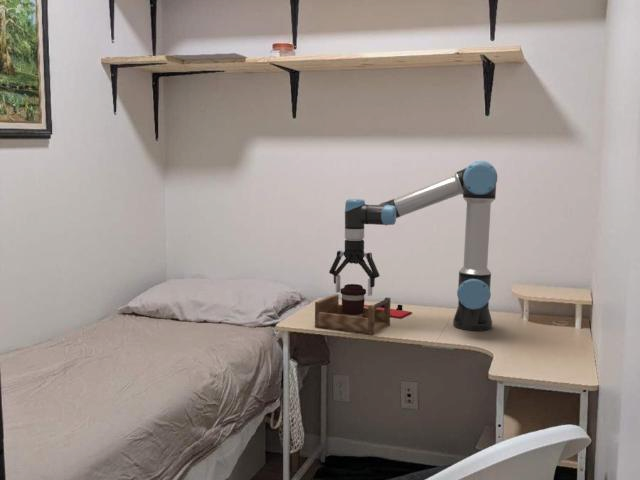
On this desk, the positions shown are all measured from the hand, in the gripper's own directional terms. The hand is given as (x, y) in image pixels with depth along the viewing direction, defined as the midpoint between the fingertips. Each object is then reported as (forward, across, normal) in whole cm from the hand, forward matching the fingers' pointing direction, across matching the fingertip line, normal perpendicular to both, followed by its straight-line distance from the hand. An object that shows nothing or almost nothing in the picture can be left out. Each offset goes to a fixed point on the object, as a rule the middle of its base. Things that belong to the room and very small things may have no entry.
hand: (353, 293), depth 270 cm
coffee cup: (+12, 0, 0) cm, 12 cm away
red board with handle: (+14, +3, -30) cm, 33 cm away
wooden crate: (+13, 0, 0) cm, 13 cm away
